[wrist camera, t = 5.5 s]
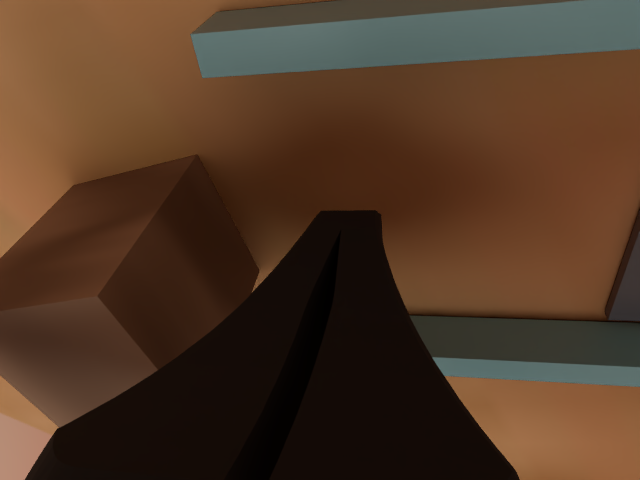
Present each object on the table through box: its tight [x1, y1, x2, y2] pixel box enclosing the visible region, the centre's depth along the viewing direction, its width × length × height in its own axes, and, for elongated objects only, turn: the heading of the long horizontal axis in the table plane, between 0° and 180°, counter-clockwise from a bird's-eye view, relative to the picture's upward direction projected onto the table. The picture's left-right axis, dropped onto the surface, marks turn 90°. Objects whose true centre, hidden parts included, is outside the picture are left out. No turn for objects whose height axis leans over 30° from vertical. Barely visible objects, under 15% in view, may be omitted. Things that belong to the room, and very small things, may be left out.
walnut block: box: [0, 155, 259, 428], centre depth 12 cm, size 4×4×5 cm
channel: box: [190, 0, 640, 387], centre depth 11 cm, size 12×10×2 cm
